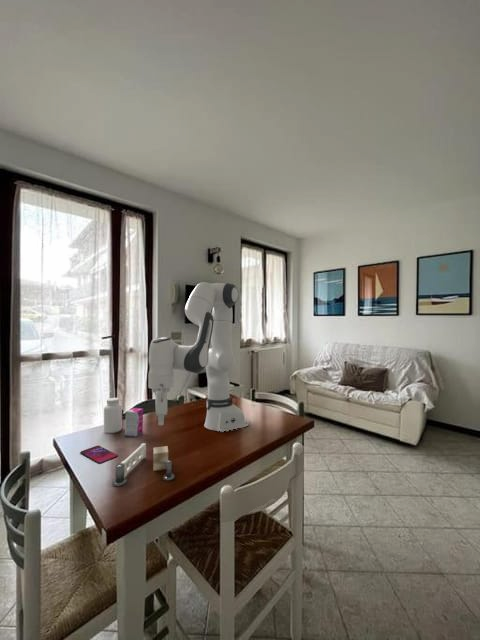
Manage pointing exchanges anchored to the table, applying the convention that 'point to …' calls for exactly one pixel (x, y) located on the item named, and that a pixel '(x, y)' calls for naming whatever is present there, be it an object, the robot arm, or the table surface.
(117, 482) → the hinge post
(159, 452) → the beech block
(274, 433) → the table surface
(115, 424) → the pill bottle
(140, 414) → the supplement box
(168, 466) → the post
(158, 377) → the robot arm
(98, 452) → the smartphone
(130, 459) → the gate
